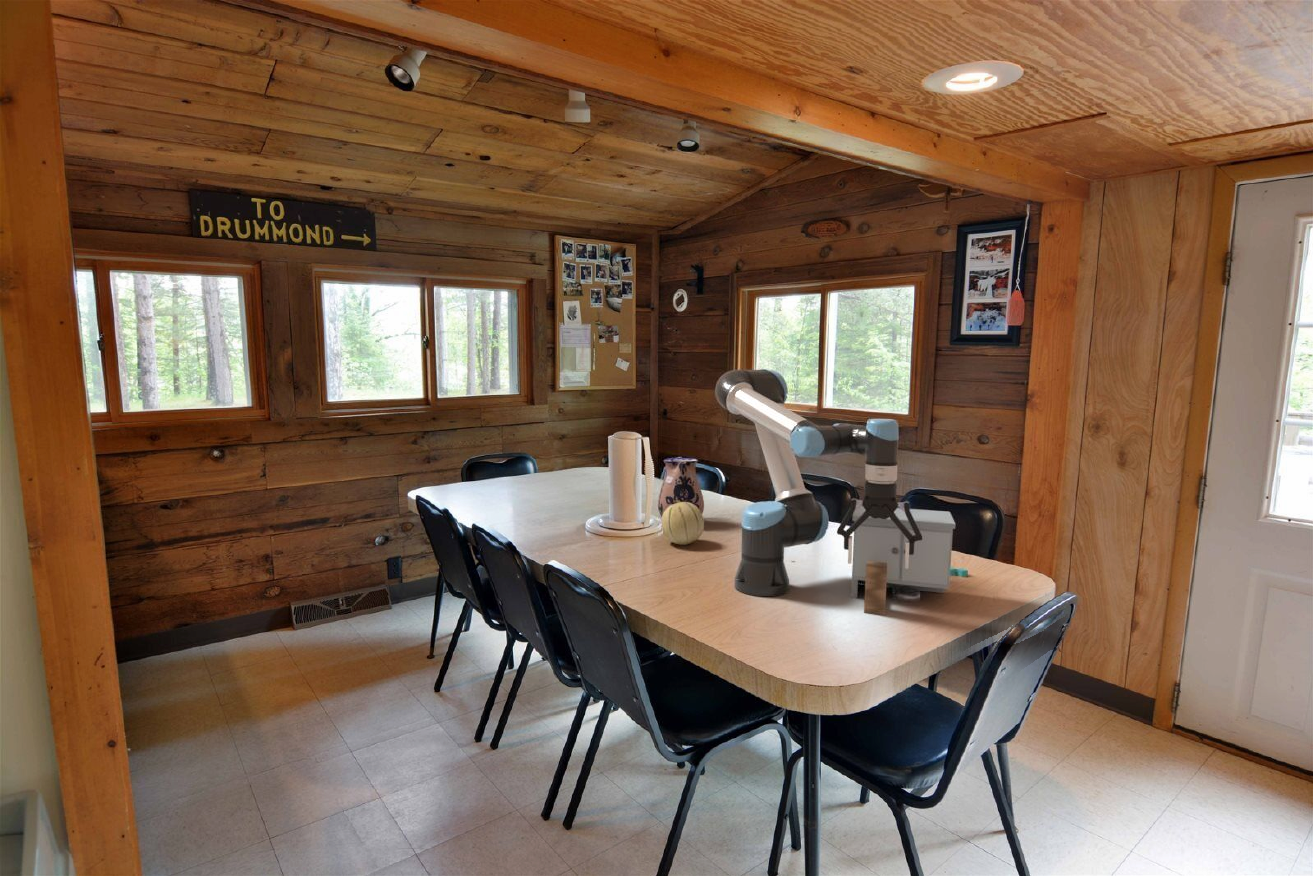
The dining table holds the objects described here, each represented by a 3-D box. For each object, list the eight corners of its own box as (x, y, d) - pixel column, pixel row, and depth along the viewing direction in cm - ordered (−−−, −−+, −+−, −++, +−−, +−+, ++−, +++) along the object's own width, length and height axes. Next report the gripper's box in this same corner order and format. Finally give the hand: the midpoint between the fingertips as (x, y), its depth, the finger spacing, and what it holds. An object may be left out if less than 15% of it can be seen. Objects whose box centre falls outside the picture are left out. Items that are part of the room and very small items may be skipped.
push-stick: (863, 612, 172) (866, 566, 171) (865, 587, 191) (867, 545, 190) (884, 615, 171) (887, 568, 169) (884, 589, 190) (886, 547, 189)
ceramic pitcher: (663, 531, 252) (663, 463, 249) (652, 517, 272) (652, 455, 269) (709, 529, 255) (710, 462, 252) (694, 516, 276) (695, 454, 273)
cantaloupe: (701, 550, 226) (702, 506, 224) (658, 548, 228) (658, 504, 227) (705, 539, 241) (706, 497, 239) (664, 537, 243) (664, 495, 241)
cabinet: (848, 599, 182) (852, 517, 179) (851, 580, 197) (854, 504, 194) (950, 610, 174) (956, 525, 171) (944, 590, 189) (949, 511, 187)
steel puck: (892, 601, 181) (892, 593, 181) (891, 592, 188) (892, 585, 188) (920, 604, 179) (921, 596, 179) (919, 595, 186) (919, 588, 186)
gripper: (828, 481, 170) (825, 564, 172) (936, 486, 162) (932, 573, 165) (830, 476, 177) (827, 556, 179) (933, 481, 169) (929, 565, 172)
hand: (877, 564), depth 172 cm, fingers open, 13 cm apart
